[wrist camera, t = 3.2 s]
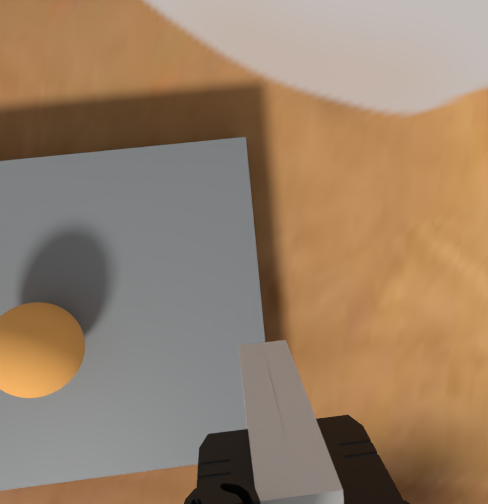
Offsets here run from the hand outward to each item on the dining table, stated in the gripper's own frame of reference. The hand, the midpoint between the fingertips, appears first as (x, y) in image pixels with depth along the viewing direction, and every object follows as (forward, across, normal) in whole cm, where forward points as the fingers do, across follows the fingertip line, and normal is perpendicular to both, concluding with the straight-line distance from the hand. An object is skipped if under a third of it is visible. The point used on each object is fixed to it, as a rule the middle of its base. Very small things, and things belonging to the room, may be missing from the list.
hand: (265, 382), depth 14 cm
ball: (+6, +9, 0) cm, 11 cm away
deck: (+10, +13, 0) cm, 17 cm away
